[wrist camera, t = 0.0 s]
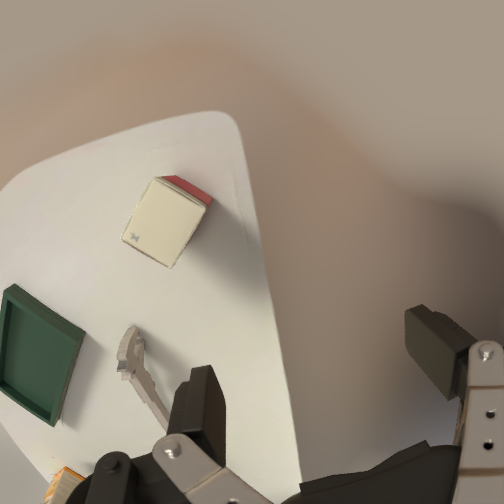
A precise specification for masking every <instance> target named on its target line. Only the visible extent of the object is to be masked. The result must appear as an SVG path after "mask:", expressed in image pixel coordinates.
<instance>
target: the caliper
mask: <svg viewBox="0 0 504 504" xmlns="http://www.w3.org/2000/svg"><path fill="white" fill-rule="evenodd" d="M138 331H139V329H138V328H137V327H135V328H128V330H127V331H126V333H125V334H124V336H123V338H122V340H121V342H120V345H119V349H118V353H117V359H118V361H119V364H118V367H117V372H119V371H122V380H129V381H130V382H131V384H132V386H133V387H134V389H135V390H136V392H137V393H138V395H139V396H140V398H141V399H142V401H143V402H144V403H147V405H148V406H149V408H150V409H151V411H152V412H153V414H154V415H155V417H156V418H157V420H158V421H159V423H160V424H161V426H162V427H163V428H164V430H165V431H166V433H167V429H168V424H169V419H170V414H169V413H168V411H167V410H166V408H165V406H164V405H163V403H162V401H161V400H160V398H159V396H158V395H157V393H156V391H155V382H154V381H153V380H152V378H151V375H150V374H149V373H148V372H147V371H146V370H145V368H144V339H140V340H137V335H138Z"/></svg>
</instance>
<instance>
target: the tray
mask: <svg viewBox="0 0 504 504" xmlns="http://www.w3.org/2000/svg"><path fill="white" fill-rule="evenodd" d="M84 335H85V332H84V331H83V330H81V329H80V328H78V327H76V326H75V325H73V324H72V323H70V322H69V321H67V320H66V319H64V318H63V317H61V316H59V315H58V314H56V313H55V312H54V311H52V310H51V309H49V308H48V307H46V306H45V305H43V304H42V303H40V302H39V301H38V300H36V299H35V298H33V297H32V296H31V295H29V294H28V293H27V292H25V291H24V290H23V289H21V288H20V287H19V286H17V285H16V284H13V285H11V286H10V287H8V288H7V289H5V290H4V293H3V298H2V304H1V311H0V391H1V392H3V393H4V394H5V395H7V396H8V397H9V398H11V399H12V400H13V401H15V402H16V403H17V404H19V405H20V406H22V407H23V408H25V409H26V410H27V411H29V412H30V413H32V414H33V415H35V416H36V417H38V418H39V419H41V420H43V421H44V422H46V423H47V424H49V425H51V426H52V427H54V426H55V425H56V423H57V421H58V419H59V418H60V414H61V410H62V406H63V402H64V399H65V395H66V391H67V388H68V384H69V381H70V378H71V374H72V371H73V368H74V365H75V361H76V358H77V355H78V352H79V349H80V346H81V343H82V340H83V337H84Z"/></svg>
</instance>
